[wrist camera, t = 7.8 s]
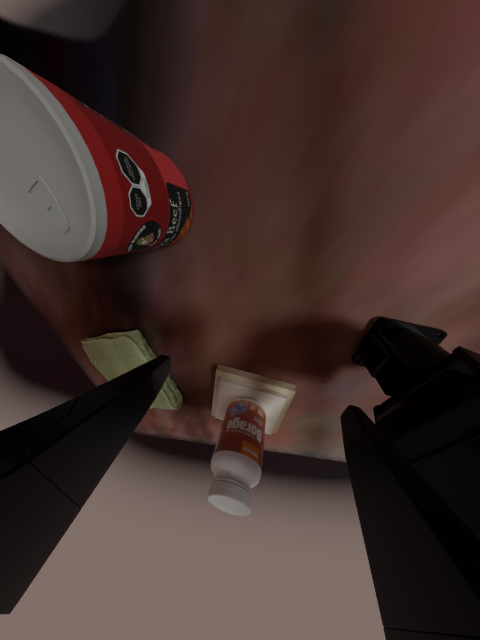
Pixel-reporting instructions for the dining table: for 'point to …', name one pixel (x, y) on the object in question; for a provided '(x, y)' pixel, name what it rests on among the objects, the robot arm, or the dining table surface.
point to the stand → (252, 394)
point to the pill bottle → (238, 457)
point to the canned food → (81, 177)
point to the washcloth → (128, 362)
